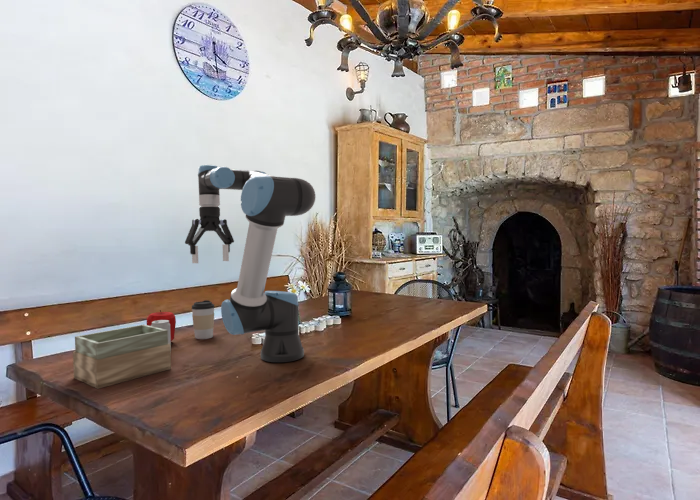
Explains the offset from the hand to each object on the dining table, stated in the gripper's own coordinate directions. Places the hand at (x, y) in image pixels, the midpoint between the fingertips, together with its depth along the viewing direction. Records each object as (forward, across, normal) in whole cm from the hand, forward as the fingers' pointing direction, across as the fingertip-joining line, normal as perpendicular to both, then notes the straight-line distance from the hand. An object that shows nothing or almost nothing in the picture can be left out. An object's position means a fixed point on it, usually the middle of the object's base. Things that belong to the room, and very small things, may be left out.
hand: (211, 262), depth 172 cm
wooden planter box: (+32, +38, +8) cm, 50 cm away
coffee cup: (+32, -4, -12) cm, 34 cm away
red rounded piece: (+32, +12, -16) cm, 38 cm away
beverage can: (+32, +20, -2) cm, 38 cm away
